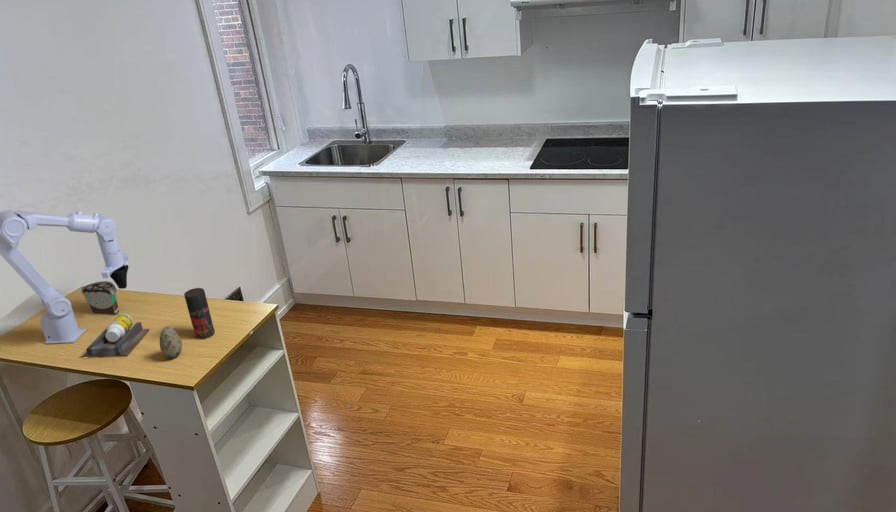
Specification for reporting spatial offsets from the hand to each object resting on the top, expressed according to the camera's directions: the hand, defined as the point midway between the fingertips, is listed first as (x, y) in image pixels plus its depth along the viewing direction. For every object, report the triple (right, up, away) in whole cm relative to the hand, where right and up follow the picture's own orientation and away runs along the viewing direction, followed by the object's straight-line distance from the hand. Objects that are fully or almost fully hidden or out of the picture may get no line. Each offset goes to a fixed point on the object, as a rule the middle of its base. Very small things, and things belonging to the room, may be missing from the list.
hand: (123, 287), depth 221 cm
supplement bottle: (+4, -10, -7) cm, 13 cm away
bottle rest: (+5, -17, -14) cm, 22 cm away
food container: (-8, -8, +8) cm, 14 cm away
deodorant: (+32, -14, -12) cm, 37 cm away
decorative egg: (+27, -20, -23) cm, 40 cm away
